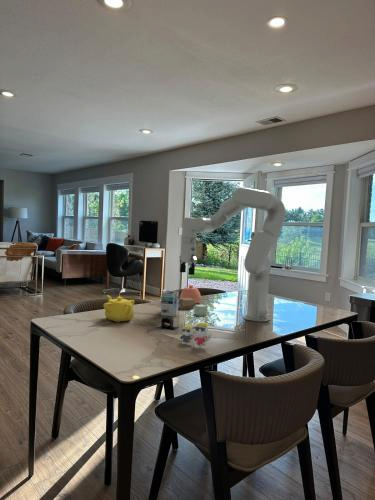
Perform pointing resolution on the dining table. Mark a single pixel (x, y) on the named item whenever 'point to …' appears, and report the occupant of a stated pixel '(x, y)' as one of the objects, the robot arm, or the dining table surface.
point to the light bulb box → (169, 303)
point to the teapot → (119, 309)
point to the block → (186, 303)
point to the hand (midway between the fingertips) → (186, 273)
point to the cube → (200, 310)
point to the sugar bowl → (191, 293)
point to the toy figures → (200, 331)
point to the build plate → (169, 327)
